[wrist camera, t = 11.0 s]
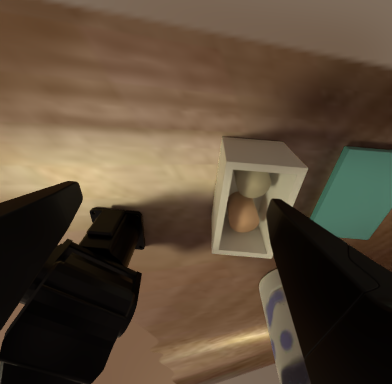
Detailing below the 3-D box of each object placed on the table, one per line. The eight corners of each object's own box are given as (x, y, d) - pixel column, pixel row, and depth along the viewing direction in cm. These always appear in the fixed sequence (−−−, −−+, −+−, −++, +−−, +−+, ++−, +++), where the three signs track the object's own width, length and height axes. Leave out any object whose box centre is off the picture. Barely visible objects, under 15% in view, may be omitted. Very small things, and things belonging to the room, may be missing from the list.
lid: (357, 228, 25) (368, 239, 24) (300, 223, 25) (306, 234, 24) (411, 147, 20) (430, 155, 18) (337, 141, 20) (349, 149, 18)
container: (262, 263, 29) (334, 529, 13) (334, 264, 29) (511, 548, 12) (255, 301, 35) (299, 523, 18) (315, 302, 34) (419, 536, 17)
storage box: (259, 219, 25) (271, 258, 20) (211, 215, 25) (211, 253, 20) (282, 141, 20) (308, 168, 15) (222, 136, 20) (226, 161, 15)
